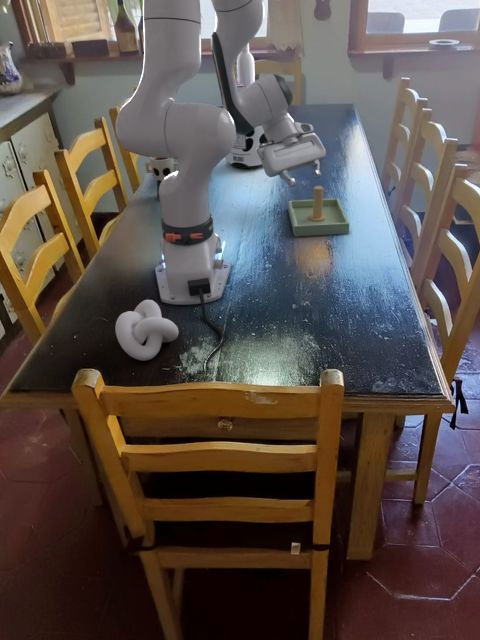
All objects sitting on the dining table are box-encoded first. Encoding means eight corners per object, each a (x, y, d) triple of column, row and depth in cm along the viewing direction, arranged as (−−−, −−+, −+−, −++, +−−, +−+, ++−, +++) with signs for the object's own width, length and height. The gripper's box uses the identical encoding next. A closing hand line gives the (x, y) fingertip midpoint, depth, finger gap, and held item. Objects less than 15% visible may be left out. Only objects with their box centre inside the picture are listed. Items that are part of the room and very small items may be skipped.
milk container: (265, 152, 196) (264, 100, 184) (278, 168, 183) (278, 113, 171) (220, 157, 192) (216, 105, 181) (230, 174, 179) (226, 119, 168)
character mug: (148, 202, 163) (140, 160, 155) (153, 193, 169) (146, 152, 161) (182, 202, 163) (177, 160, 155) (186, 192, 168) (181, 152, 160)
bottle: (249, 105, 247) (246, 31, 228) (259, 108, 242) (257, 33, 223) (235, 108, 243) (231, 33, 224) (245, 111, 238) (242, 36, 219)
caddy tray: (348, 233, 144) (351, 198, 137) (294, 236, 143) (294, 201, 137) (338, 207, 157) (340, 174, 150) (288, 210, 156) (288, 177, 150)
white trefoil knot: (185, 329, 111) (180, 294, 106) (175, 367, 102) (168, 330, 97) (133, 329, 112) (125, 294, 107) (118, 366, 103) (108, 329, 97)
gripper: (258, 139, 139) (282, 185, 139) (316, 123, 148) (338, 167, 148) (249, 152, 145) (272, 196, 145) (305, 135, 154) (326, 177, 154)
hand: (306, 181), depth 147 cm, fingers open, 8 cm apart
